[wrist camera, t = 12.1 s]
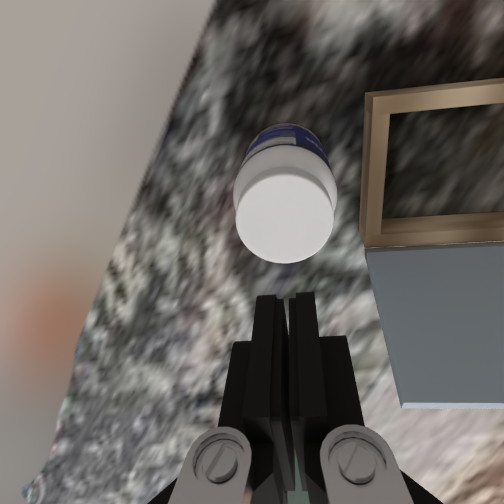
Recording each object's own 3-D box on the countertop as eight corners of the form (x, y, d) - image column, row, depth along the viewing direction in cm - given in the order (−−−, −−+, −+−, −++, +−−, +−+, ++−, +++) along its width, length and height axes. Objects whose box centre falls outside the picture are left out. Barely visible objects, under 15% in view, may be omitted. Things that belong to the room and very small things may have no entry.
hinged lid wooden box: (670, 59, 20) (715, 61, 18) (603, 218, 25) (632, 234, 23) (365, 92, 22) (373, 97, 20) (358, 232, 27) (364, 247, 25)
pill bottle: (335, 185, 26) (358, 255, 17) (262, 210, 27) (250, 285, 19) (311, 107, 23) (325, 143, 14) (233, 139, 25) (203, 188, 16)
